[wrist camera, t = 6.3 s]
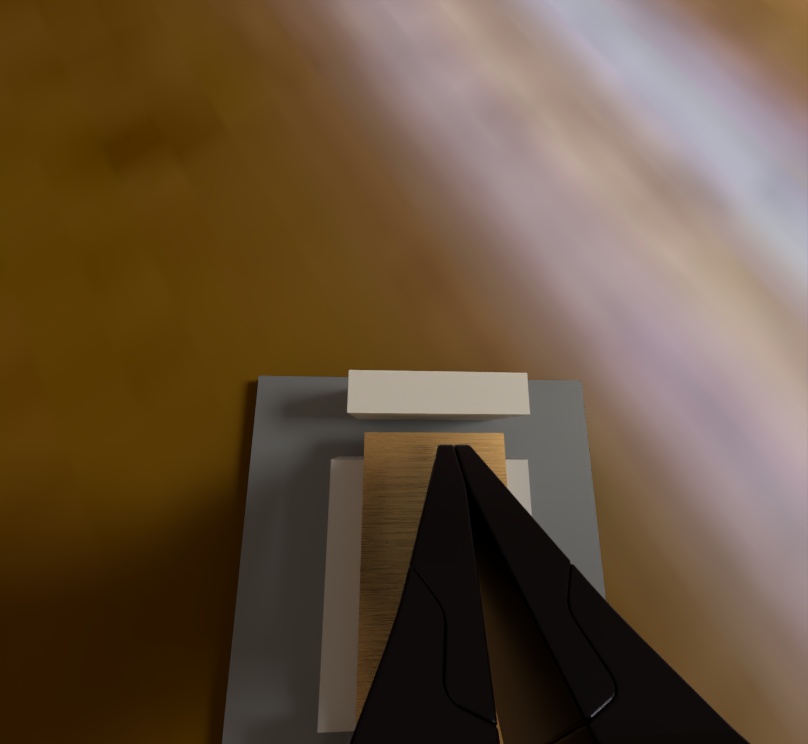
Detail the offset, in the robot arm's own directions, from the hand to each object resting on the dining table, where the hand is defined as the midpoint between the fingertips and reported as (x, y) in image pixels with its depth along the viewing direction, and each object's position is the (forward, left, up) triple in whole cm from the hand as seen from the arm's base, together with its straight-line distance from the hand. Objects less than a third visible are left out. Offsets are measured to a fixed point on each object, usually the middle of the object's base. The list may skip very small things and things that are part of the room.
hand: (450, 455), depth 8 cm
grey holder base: (-5, 0, -7) cm, 9 cm away
